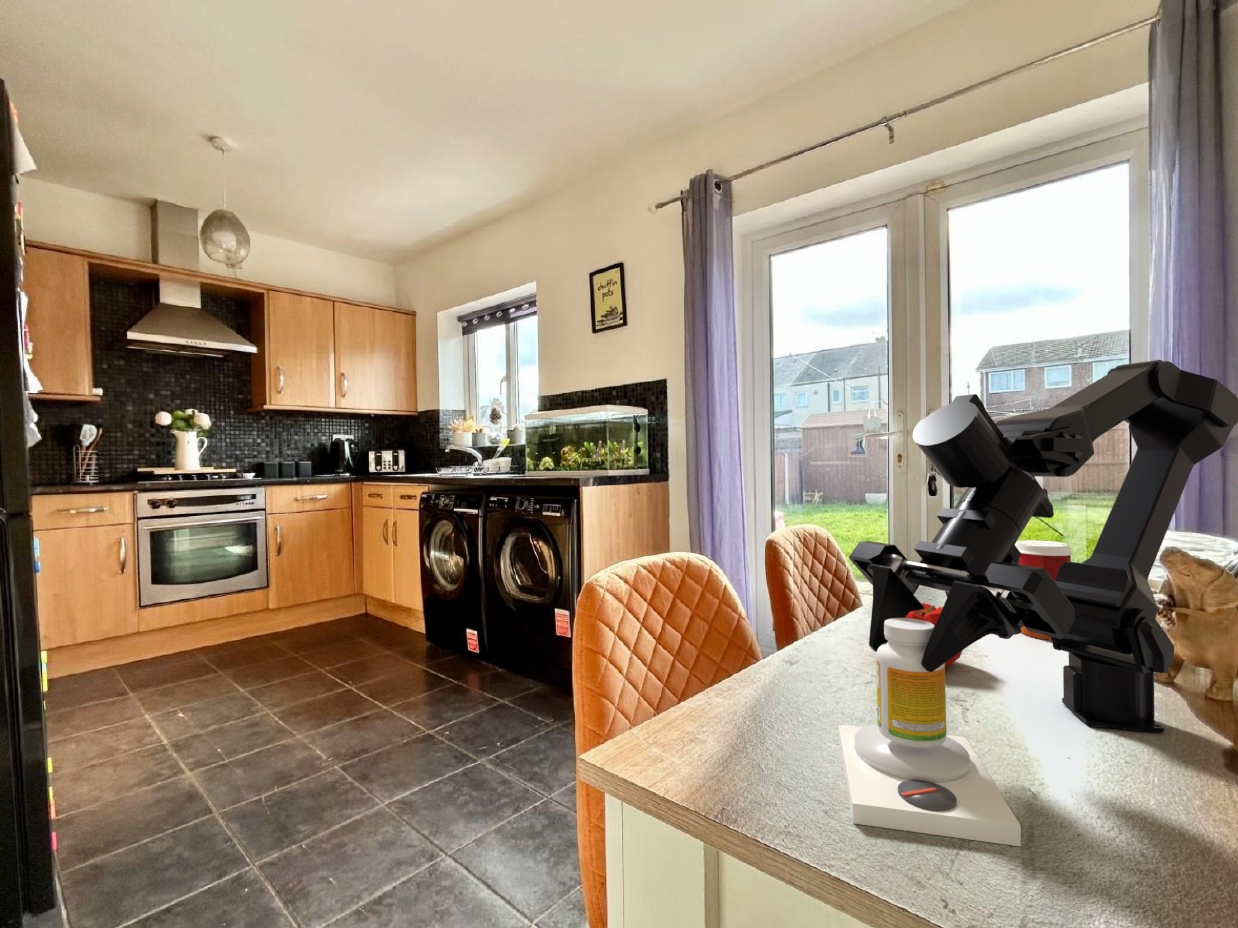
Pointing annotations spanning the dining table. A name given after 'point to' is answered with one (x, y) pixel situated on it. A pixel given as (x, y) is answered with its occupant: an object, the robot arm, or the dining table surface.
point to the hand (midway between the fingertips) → (898, 658)
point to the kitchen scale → (923, 788)
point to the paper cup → (1043, 563)
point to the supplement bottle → (909, 686)
